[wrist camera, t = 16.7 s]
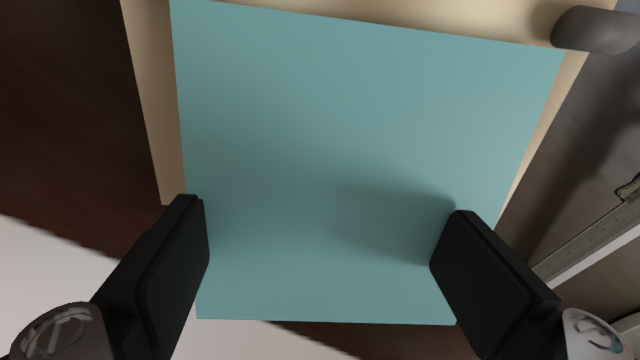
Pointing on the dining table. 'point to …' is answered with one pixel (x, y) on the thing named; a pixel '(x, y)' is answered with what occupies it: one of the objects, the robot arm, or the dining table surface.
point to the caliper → (595, 239)
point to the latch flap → (342, 155)
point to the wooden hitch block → (393, 10)
